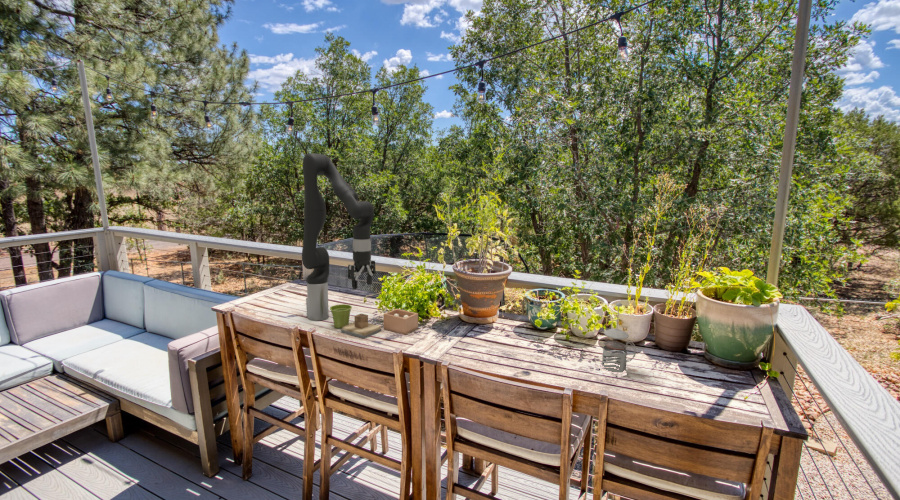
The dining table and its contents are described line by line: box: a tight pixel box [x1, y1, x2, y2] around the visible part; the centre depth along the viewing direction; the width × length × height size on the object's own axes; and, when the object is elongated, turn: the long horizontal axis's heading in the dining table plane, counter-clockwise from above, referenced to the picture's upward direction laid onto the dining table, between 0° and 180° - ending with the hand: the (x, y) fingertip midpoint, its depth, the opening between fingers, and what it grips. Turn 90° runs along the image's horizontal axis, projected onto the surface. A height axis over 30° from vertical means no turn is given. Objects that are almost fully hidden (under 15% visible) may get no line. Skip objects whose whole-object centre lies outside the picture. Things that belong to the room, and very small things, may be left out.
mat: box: [340, 328, 382, 339], centre depth 180 cm, size 13×11×1 cm
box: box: [382, 308, 419, 336], centre depth 183 cm, size 12×9×7 cm
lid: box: [341, 313, 382, 336], centre depth 179 cm, size 13×10×6 cm
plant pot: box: [329, 303, 353, 329], centre depth 185 cm, size 9×9×9 cm
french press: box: [601, 301, 637, 372], centre depth 144 cm, size 10×12×25 cm
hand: (362, 286), depth 179 cm, fingers open, 8 cm apart
